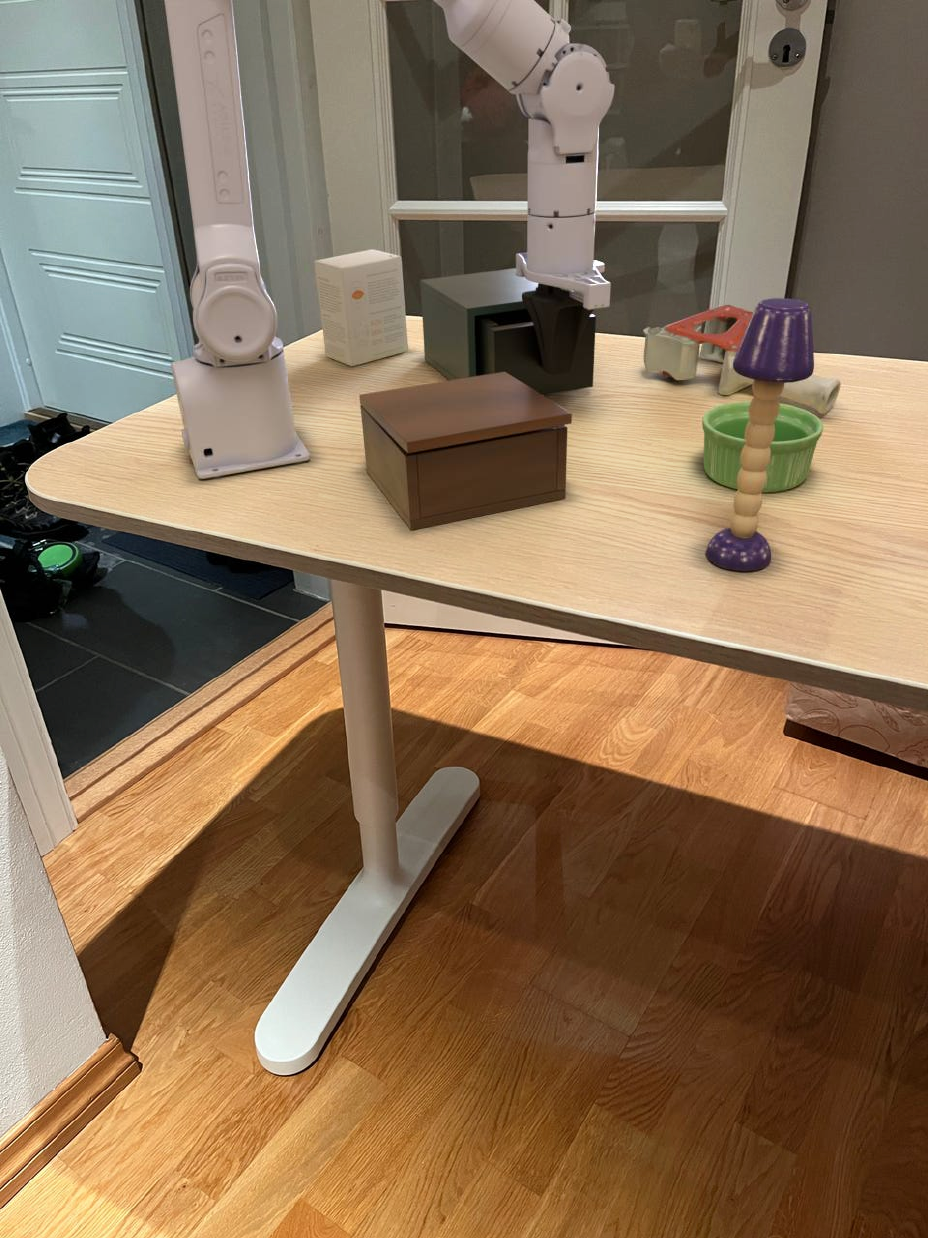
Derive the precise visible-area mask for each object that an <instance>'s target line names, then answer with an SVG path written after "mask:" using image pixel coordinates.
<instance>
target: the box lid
mask: <svg viewBox="0 0 928 1238" xmlns="http://www.w3.org/2000/svg"><path fill="white" fill-rule="evenodd" d="M358 398H359V405H361V406H362V407H363V408H364V409H365V410H366V411H367V412H368V413H369V414H370V415H371V416H372V417H373V418H374V419H375V420H376V421H377V422H378V423H379V424H380V425H381V426H382V427H383V428H384V429H385V430H386V431H387V432H388V433H389V434H390V435H391V436H392V437H393V438H394V439H395V441H396V442H397V443H398V444H399V445H400V446H401V447H402V448H403V449H404V450H405V451H406V452H407V453H411V452H417V451H422V450H428V449H434V448H439V447H445V446H450V445H456V444H461V443H467V442H472V441H478V440H483V439H489V438H495V437H500V436H506V435H511V434H517V433H522V432H528V431H533V430H539V429H544V428H550V427H556V426H561V425H565V426H567V425H571V424H572V421H573V417H572V416H573V413H572V412H571V411H569V410H567V409H566V408H564V407H562V406H561V405H559V404H557V403H556V402H554V401H553V400H552V399H550V398H548V397H546V395H542V394H540V393H538V392H537V391H535V390H533V389H532V388H530V387H529V386H527V385H525V384H524V383H522V382H521V381H519V380H517V379H516V378H514V377H513V376H511V375H509V374H508V373H506V372H500V373H494V374H487V375H481V376H475V377H468V378H462V379H456V380H445V381H437V382H430V383H425V384H418V385H412V386H406V387H400V388H393V389H387V390H381V391H374V392H368V393H362V394H359V397H358Z"/></svg>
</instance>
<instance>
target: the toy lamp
mask: <svg viewBox="0 0 928 1238" xmlns="http://www.w3.org/2000/svg"><path fill="white" fill-rule="evenodd" d="M752 312H753V315H752V317H751V319H750V322H749V324H748V326H747V329H746V331H745V333H744V336H743V338H742V340H741V343H740V345H739V348H738V350H737V353H736V355H735V358H734V361H733V369H734V370H735V372H737V373H738V374H739V375H742V376H744V377H747V378H750V379H754V381H753V384H752V393H753V397H752V399H751V400H750V401H751V403H750V405H749V418H750V421H749V422H748V424H747V426H746V430H745V441H746V444H745V446H744V447H743V449H742V452H741V464H742V468H741V469H740V471H739V473H738V477H737V486H738V489H736V490H737V491H736V492H735V494H734V497H733V510H734V511H733V512H732V515H731V516H730V521H729V527H727V528H724V529H722V530H720V531H718V532H716V533H715V534H714V536H713V537H712V538H711V539H710V541H709V542H708V544H707V547H706V550H705V555H706V557H707V559H708V560H709V561H710V562H711V563H712V564H714V565H716V566H717V567H721V568H723V569H725V570H732V571H738V572H754V571H759V570H761V569H765V568H766V567H767V566H769V565H770V564H771V562H772V550H771V546H770V544H769V542H768V540H767V539H766V538H765V536H764V535H762V533H760V532H759V531H757V529H758V526H759V516H758V513H759V511H760V510H761V508H762V505H763V494H762V493H763V492H761V491H762V490H763V488H764V487H765V484H766V480H767V474H766V470H765V469H766V467H767V466H768V464H769V462H770V457H771V450H770V444H771V443H772V441H773V439H774V435H775V426H774V421H775V420H776V418H777V416H778V413H779V408H780V404H781V403H780V400H779V398H780V397H781V396H780V395H781V394H782V391H783V388H784V383H788V382H790V383H792V382H797V381H801V380H805V379H807V378H809V377H810V376H811V375H812V374H814V370H815V356H814V355H815V353H814V335H813V323H812V322H813V321H812V319H813V318H812V309H811V307H810V305H809V304H808V303H807V302H805V301H802V300H799V299H793V298H784V297H782V298H781V297H777V298H776V297H775V298H765V299H762V300H761V301H759V302H758V303H757V305H756V306H755V308H754V311H752ZM779 403H780V404H779Z"/></svg>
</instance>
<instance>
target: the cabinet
mask: <svg viewBox="0 0 928 1238" xmlns="http://www.w3.org/2000/svg"><path fill="white" fill-rule="evenodd" d="M419 283H420V301H421V315H422V317H421V318H422V332H423V333H422V334H423V351H424V361H425V362H426V363H428V364H429V366H431V367H432V368H434V369H435V370H436V371H437V372H439V373H440V374H441V375H442V376H443V377H444V378H446V379H447V381H449V380H456V379H462V378H468V377H475V376H476V350H475V317H474V316H479V315H486V314H493V313H500V312H508V311H515V310H522V309H527V308H526V306H525V304H524V302H523V301H522V293H524V292H527V291H534V290H536V287H538V283H535V282H531V281H529V280H527V279H526V278H525V277H519V276H517V275H516V267H514V268H507V269H499V270H491V271H481V272H475V273H474V272H473V273H465V274H457V275H449V276H442V277H434V278H425V279H420V281H419Z"/></svg>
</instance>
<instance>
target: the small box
mask: <svg viewBox="0 0 928 1238" xmlns="http://www.w3.org/2000/svg"><path fill="white" fill-rule="evenodd" d="M314 270H315V272H314V273H315V278H316V286H317V295H318V303H319V311H320V321H321V328H322V336H323V343H324V351H325V352H324V353H325V356H326V357H327V358H329V359H332V360H335V361H337V362H340V363H342V364H345V365H347V366H350V367H355V366H359V365H363V364H366V363H370V362H373V361H377V360H380V359H384V358H389V357H392V356H395V355H398V354H402V353H405V352H408V351H409V344H408V343H409V342H408V329H407V317H406V316H407V314H406V302H405V301H406V300H405V289H404V273H403V260H402V256H401V255H397V254H394V253H389V252H386V251H382V250H378V249H372V248H371V249H367V250H362V251H357V252H352V253H347V254H342V255H337V256H332V257H327V258H322V259H321V258H320V259H318V260H314Z"/></svg>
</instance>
